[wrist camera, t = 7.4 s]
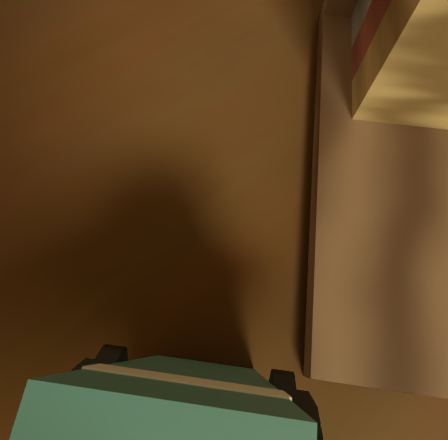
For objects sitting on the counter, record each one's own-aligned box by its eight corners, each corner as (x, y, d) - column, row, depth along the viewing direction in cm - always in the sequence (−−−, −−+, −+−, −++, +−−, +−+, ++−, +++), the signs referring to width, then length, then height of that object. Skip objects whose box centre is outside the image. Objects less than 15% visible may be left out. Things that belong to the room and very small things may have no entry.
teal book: (139, 446, 15) (-84, 721, 4) (157, 353, 17) (25, 375, 6) (246, 463, 15) (311, 801, 4) (254, 368, 17) (320, 419, 5)
